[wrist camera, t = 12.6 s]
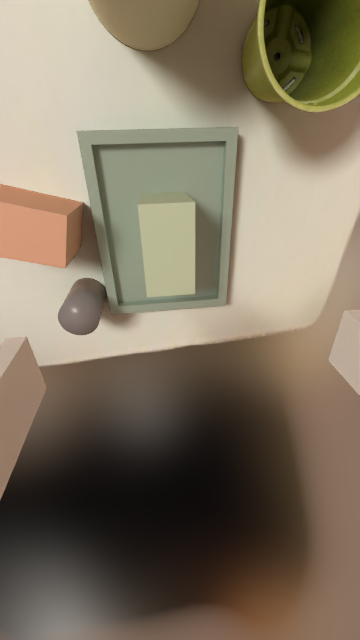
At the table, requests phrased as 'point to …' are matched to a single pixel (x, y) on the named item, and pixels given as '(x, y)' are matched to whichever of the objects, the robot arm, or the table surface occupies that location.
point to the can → (145, 20)
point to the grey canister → (82, 307)
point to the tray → (154, 177)
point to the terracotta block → (39, 227)
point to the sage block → (168, 242)
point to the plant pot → (304, 53)
